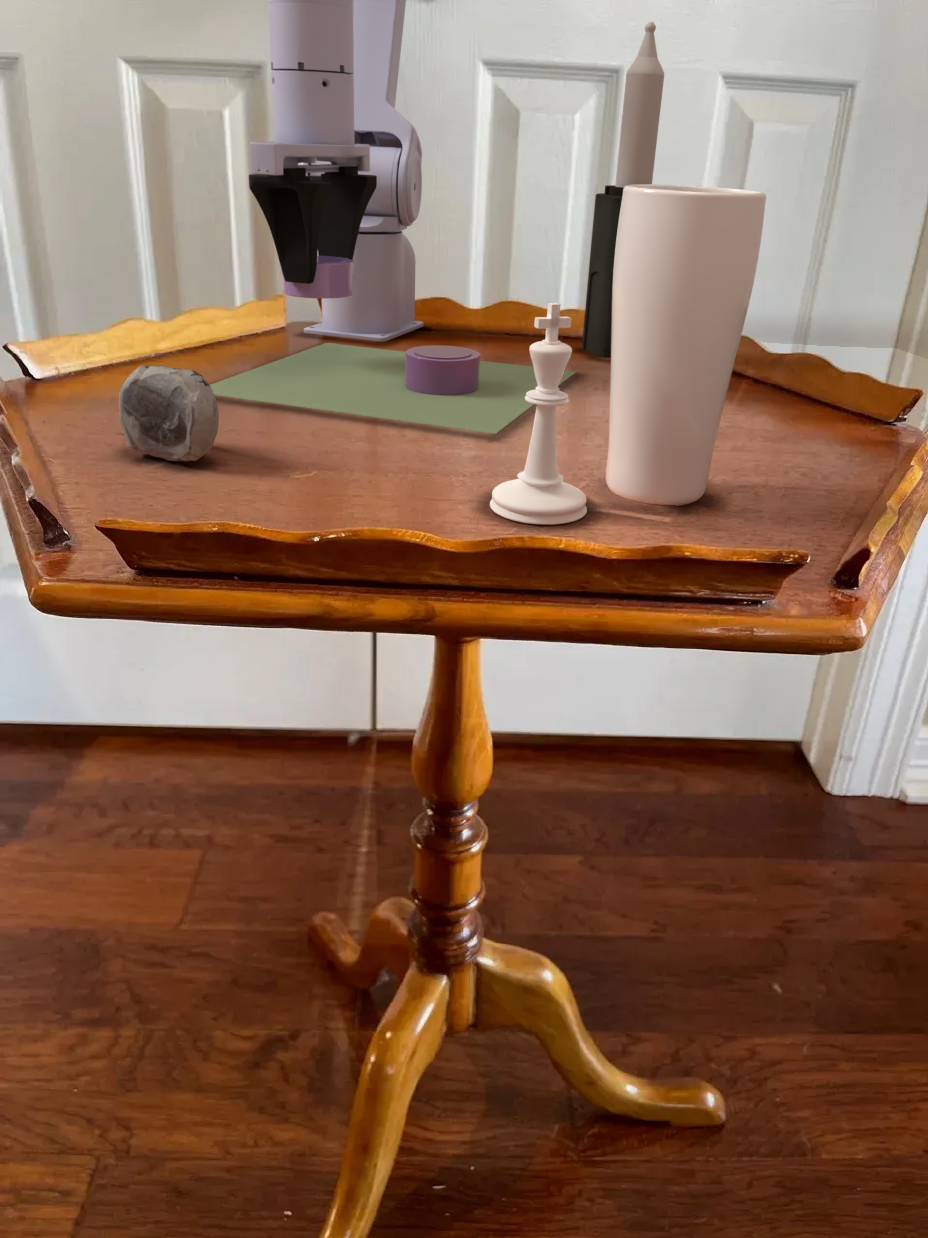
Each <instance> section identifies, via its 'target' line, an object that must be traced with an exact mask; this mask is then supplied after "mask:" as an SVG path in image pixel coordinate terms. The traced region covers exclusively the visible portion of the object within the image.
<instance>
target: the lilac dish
mask: <svg viewBox="0 0 928 1238" xmlns="http://www.w3.org/2000/svg"><path fill="white" fill-rule="evenodd" d="M281 288H282V289H281V290H282V291H281V292H282V294H284V295H286V296H290V297H296V298H302V299H318V300H319V299H321V300H322V299H327V298H343V297H349V296H352V295H353V294H354V261H353V260H351V259H348V258H342V257H332V256H319V255H317V266H316V273H315V278H314V282H313V283H310V284H305V283H294V282H285V279H284V276H283V273H282V272H281Z"/></svg>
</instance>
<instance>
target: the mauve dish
mask: <svg viewBox="0 0 928 1238" xmlns="http://www.w3.org/2000/svg"><path fill="white" fill-rule="evenodd" d="M404 352H405V387H406V388H408V389H409V390H412V391H415V392H419V393H424V394H432V395H461V394H468V393H472V392H475V391H477V390H478V388H479V372H480V361H481V353H480V352H479V351H477V350H475V349H471V348H469V347H461V346H455V345H454V346H453V345H441V344H440V345H437V344H436V345H434V344H433V345H420V346H414V347H410V348H407V349H406V350H405V351H404Z"/></svg>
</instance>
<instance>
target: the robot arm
mask: <svg viewBox="0 0 928 1238" xmlns="http://www.w3.org/2000/svg"><path fill="white" fill-rule="evenodd" d="M267 1H268V2H267V4H268V24H269V49H270V50H269V53H270V70H271V71H270V72H271V73H270V74H271V75H270V76H271V99H272V100H271V101H272V119H273V120H272V121H273V122H272V123H273V124H272V126H273V141H249V162H250V163H249V165H250V173H249V174H248V188H249V190H250V192H251V194H252V195H253V197H254V198H255V200H256V201H257V203H258V205H259V207H260V209H261V211H262V214H263V216H264V218H265V221H266V223H267V225H268V228H269V231H270V234H271V237H272V240H273V244H274V246H275V251H276V254H277V257H278V261H279V266H280V270H281V274H282V273H283V276H284V279H285V282H294V283H305V284H310V283H313V282H314V278H315V273H316V266H317V256H332V257H342V258H348V259H351V260H353V261H354V294H353V295H352V296H349V297H343V298H327V299H321V322H319V323H316V324H312V325H310V326H307V327H304V328H303V333H304V334H310V335H319V336H327V337H336V338H343V339H353V340H362V341H370V342H371V341H372V342H379V343H381V342H383V343H384V342H385V343H386V342H388V341H390V340H393V339H395V338H397V337H401V336H403V335H405V334H407V333H410V332H413V331H415V330H418V329H420V328H423V327H424V326H425V325H424V322H423V321H421V320H416V319H415V314H416V264H417V263H416V262H417V261H416V254H415V251H414V248H413V245H412V243H411V242H410V240H409V238H408V237H407V236H406V234H404V233H403V231H404V230H406V229H408V227H411V226H412V225H413V224H414V222H415V221H416V220H417V219H418V217H419V215H420V209H421V204H422V203H421V202H422V194H423V193H422V190H423V175H422V174H423V173H422V162H423V161H422V160H423V149H422V144H421V140H420V137H419V136H418V132H417V129H416V128H415V126H414V125H413V124H412V123H411V122H410V121H409V120H408V119H407V118H406V117H404V116H403V114H401V113H400V112H399V111H398V110H397V109H396V100H397V90H398V83H399V73H400V61H401V53H402V42H403V36H404V35H403V34H404V25H405V24H404V23H405V15H406V5H407V0H267Z"/></svg>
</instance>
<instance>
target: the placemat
mask: <svg viewBox="0 0 928 1238" xmlns="http://www.w3.org/2000/svg"><path fill="white" fill-rule="evenodd" d="M576 373H577V371H575V370H564V373H563V376H562V378H561V381H560V383H559V385H558V387H559V386H561V385H562V384H563V383H564V382H566V381H567V380H569V378H571V377H572V376H574V375H576ZM209 385H210V387H211V389H212V391H213V393H214V396H218V397H224V398H231V399H239V400H247V401H253V402H260V403H266V404H267V403H268V404H275V405H282V406H289V407H297V408H302V409H303V408H304V409H310V410H311V409H312V410H317V411H325V412H331V413H340V414H346V415H354V416H360V417H361V416H362V417H368V418H375V419H380V420H381V419H382V420H390V421H396V422H397V421H398V422H403V423H410V424H418V425H425V426H431V427H440V428H447V429H452V430H453V429H454V430H462V431H469V432H475V433H482V434H490V435H497V434H498V433H499V432H501V431H502V430H504V429H505V428H506V427H507V426H509V425H510V424H511V423H512V422H514V421H515V420H516V419H517V418H519V417H520V416H522V415H523V414H525V413H526V412H527V411H528V410H530V409H531V408H532V407H533V406H535V404H532V403H529V402H527V401H526V400H525V396H526V393H527V392H528V391H530V390H535V389H536V387H537V386H538V384H537V381H536V377H535V373H534V367H533V366H530V365H523V364H522V365H521V364H512V363H505V362H496V361H487V360H480V372H479V388H478V390H477V391H475V392H472V393H468V394H461V395H432V394H424V393H419V392H415V391H412V390H409V389H408V388H406V387H405V351H403V350H394V349H385V348H376V347H369V346H368V347H367V346H359V345H351V344H344V343H335V342H333V343H332V342H324V343H322V344H319V345H316V346H313V347H311V348H308V349H305V350H303V351H300V352H297V353H294V354H291V355H289V356H286V357H283V358H280V359H277V360H274V361H271V362H269V363H266V364H263V365H260V366H258V367H255V368H252V369H249V370H246V371H243V372H241V373H238V374H236V375H233V376H230V377H227V378H225V379H222V380H219V381H216V382H214V383H209Z"/></svg>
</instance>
